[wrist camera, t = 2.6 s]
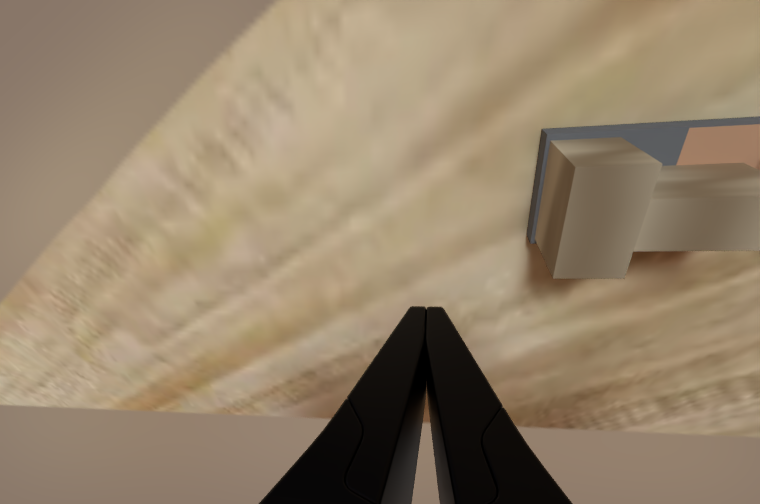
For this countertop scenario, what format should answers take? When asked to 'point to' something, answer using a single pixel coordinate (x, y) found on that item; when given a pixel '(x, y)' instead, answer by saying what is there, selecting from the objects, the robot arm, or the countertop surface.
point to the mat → (663, 146)
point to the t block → (638, 207)
